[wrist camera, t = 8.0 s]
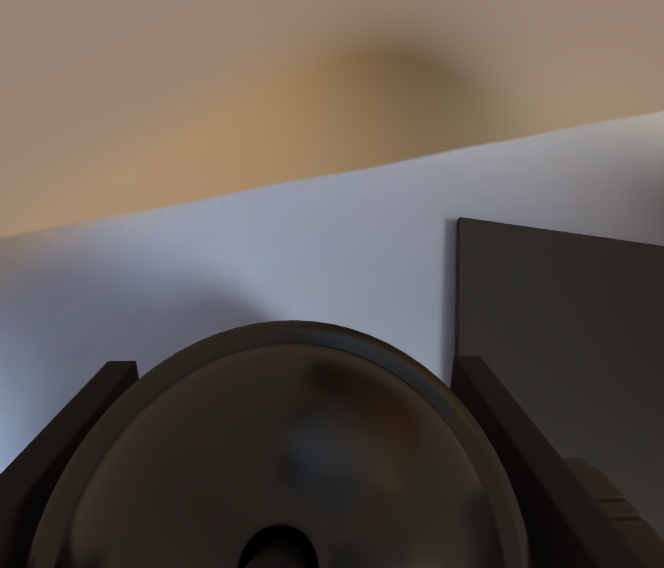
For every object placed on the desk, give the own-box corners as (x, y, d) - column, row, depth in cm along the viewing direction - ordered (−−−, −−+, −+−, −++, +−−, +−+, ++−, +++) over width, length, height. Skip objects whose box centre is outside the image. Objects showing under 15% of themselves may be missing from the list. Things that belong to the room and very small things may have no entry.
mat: (696, 256, 25) (705, 251, 25) (821, 679, 16) (839, 686, 16) (456, 222, 26) (459, 216, 25) (451, 614, 17) (455, 619, 16)
